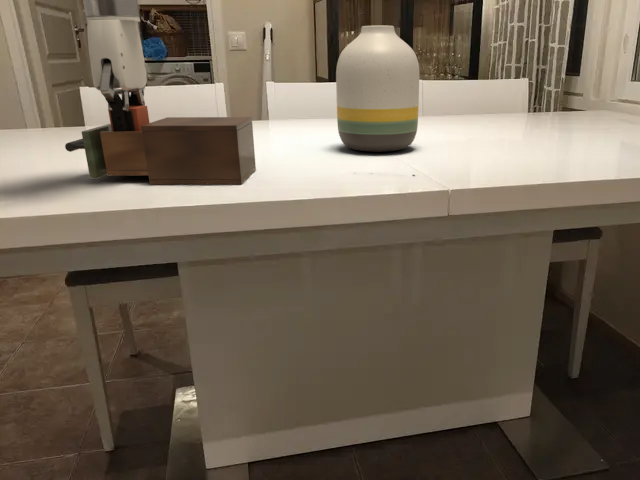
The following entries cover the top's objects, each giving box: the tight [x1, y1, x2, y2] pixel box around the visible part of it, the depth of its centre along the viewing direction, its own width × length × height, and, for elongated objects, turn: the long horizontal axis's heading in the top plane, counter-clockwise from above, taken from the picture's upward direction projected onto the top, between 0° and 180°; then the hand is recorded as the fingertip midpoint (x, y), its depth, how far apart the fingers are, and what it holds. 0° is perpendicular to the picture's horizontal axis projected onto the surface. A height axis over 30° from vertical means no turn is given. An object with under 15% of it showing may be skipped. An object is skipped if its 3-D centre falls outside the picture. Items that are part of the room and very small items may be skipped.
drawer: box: [64, 123, 148, 179], centre depth 92 cm, size 18×10×7 cm, turn 89°
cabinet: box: [141, 116, 257, 186], centre depth 91 cm, size 15×12×9 cm
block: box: [107, 105, 150, 131], centre depth 90 cm, size 4×4×4 cm
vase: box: [335, 25, 420, 153], centre depth 114 cm, size 17×17×24 cm
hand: (131, 133), depth 91 cm, fingers closed on block, 4 cm apart
